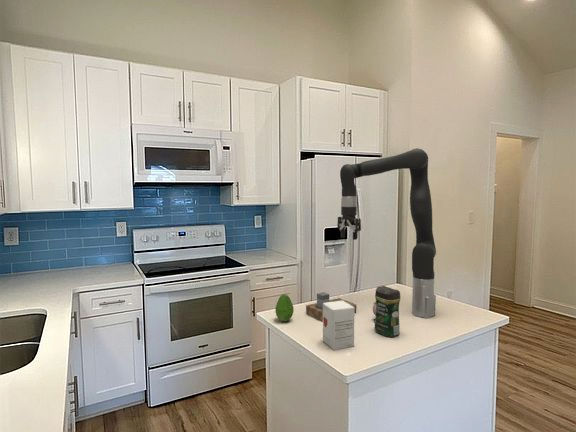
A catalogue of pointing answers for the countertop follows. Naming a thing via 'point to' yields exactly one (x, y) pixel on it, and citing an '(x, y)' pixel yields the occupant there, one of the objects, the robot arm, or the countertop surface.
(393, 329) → the coffee jar
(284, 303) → the avocado
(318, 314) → the socket block
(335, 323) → the supplement box
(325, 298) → the plug
